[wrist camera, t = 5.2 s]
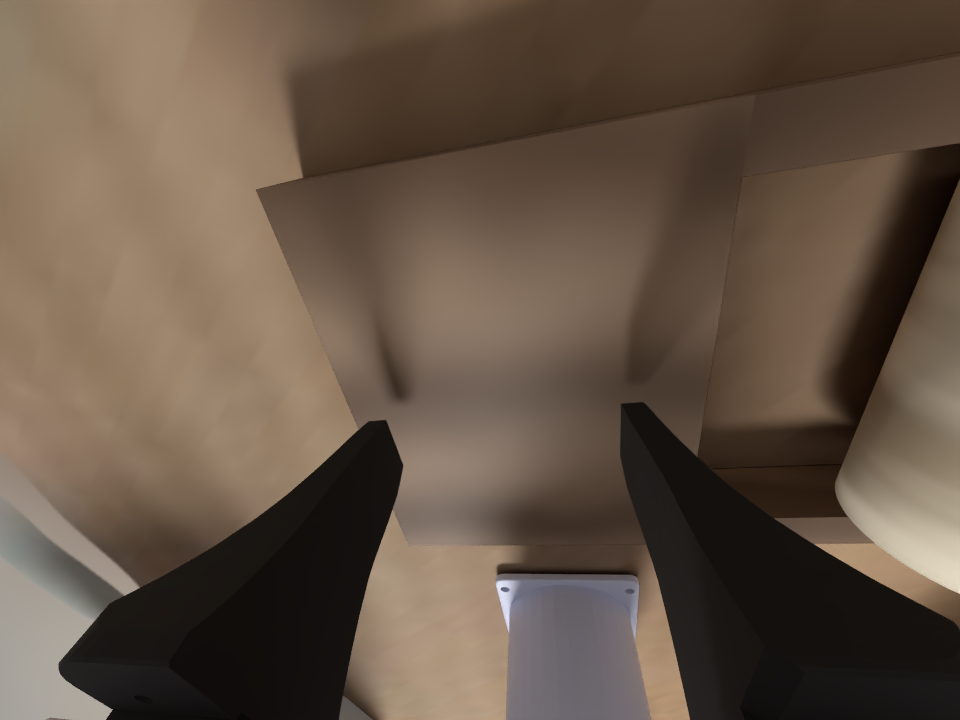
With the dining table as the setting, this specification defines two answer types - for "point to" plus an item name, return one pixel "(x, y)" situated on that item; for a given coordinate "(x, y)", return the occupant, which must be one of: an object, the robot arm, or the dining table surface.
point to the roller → (915, 427)
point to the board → (569, 298)
